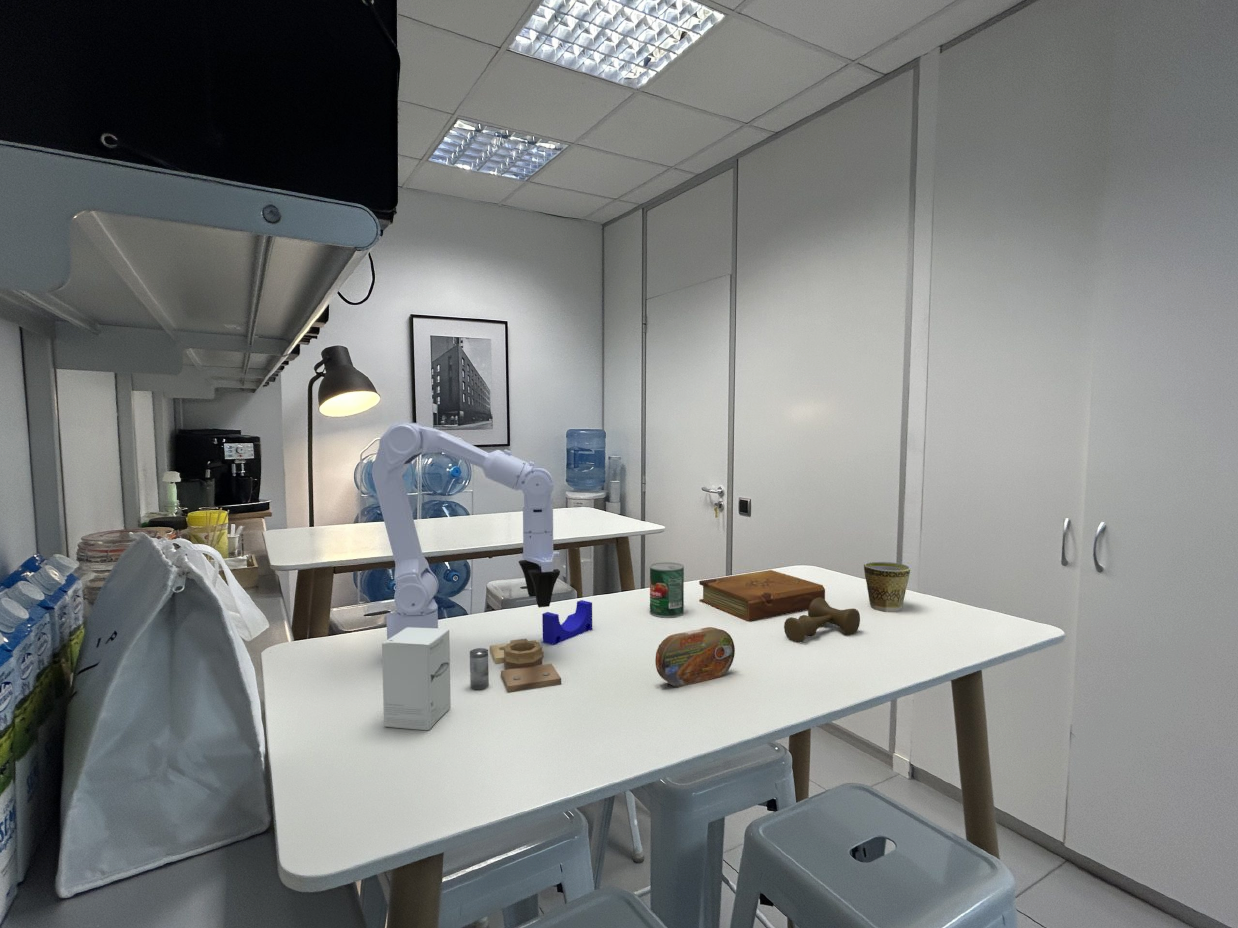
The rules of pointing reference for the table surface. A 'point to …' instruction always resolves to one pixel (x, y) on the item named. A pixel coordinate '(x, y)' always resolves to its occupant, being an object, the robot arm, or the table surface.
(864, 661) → the table surface
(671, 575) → the canned tomato
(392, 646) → the supplement box
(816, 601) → the kendama
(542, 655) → the hinge leaf
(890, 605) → the ceramic cup
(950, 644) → the table surface
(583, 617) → the blue u-shaped block
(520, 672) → the hinge plate
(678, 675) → the tin
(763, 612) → the diary
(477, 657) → the grey cylinder
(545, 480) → the robot arm
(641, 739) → the table surface
